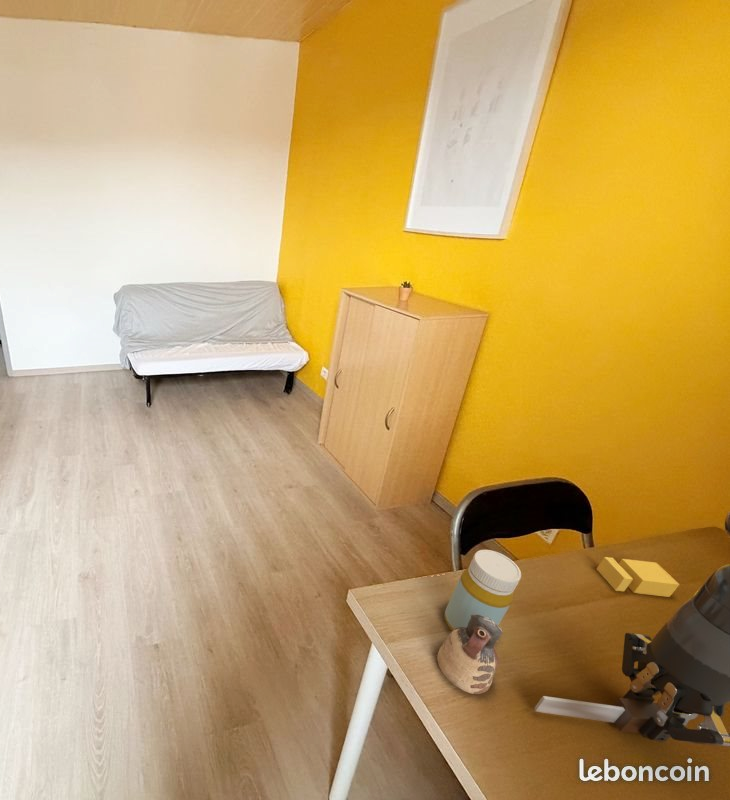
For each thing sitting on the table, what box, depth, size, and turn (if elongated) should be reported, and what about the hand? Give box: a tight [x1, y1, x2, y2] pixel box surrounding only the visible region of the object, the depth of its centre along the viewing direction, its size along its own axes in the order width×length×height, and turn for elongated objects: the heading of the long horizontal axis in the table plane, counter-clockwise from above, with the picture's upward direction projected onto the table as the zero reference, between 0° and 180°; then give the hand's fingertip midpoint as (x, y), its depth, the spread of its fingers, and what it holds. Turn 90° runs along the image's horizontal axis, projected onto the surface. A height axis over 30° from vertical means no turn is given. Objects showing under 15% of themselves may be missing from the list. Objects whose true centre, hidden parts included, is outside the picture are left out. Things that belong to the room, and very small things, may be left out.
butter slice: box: [596, 556, 633, 592], centre depth 78 cm, size 2×5×4 cm, turn 172°
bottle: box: [443, 549, 522, 632], centre depth 67 cm, size 7×7×15 cm
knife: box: [534, 695, 672, 739], centre depth 56 cm, size 16×2×4 cm, turn 82°
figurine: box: [436, 614, 504, 695], centre depth 61 cm, size 7×7×12 cm
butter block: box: [618, 558, 680, 598], centre depth 78 cm, size 6×5×4 cm
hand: (639, 722), depth 56 cm, fingers closed on knife, 2 cm apart
